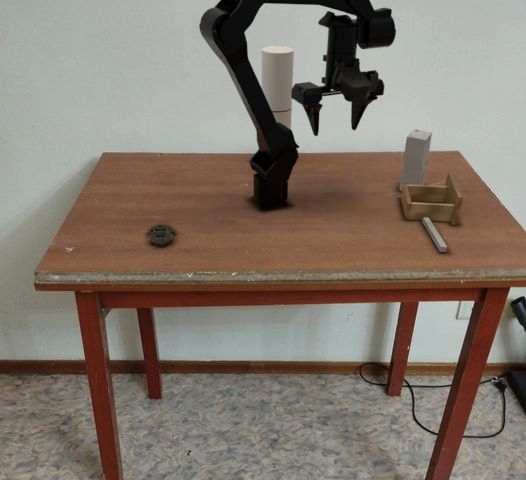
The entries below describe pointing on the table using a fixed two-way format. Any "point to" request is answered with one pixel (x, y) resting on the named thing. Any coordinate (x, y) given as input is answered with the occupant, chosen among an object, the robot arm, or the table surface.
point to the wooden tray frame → (433, 193)
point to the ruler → (434, 234)
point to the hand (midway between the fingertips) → (334, 132)
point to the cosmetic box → (415, 158)
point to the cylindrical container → (278, 81)
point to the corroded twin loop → (160, 234)
